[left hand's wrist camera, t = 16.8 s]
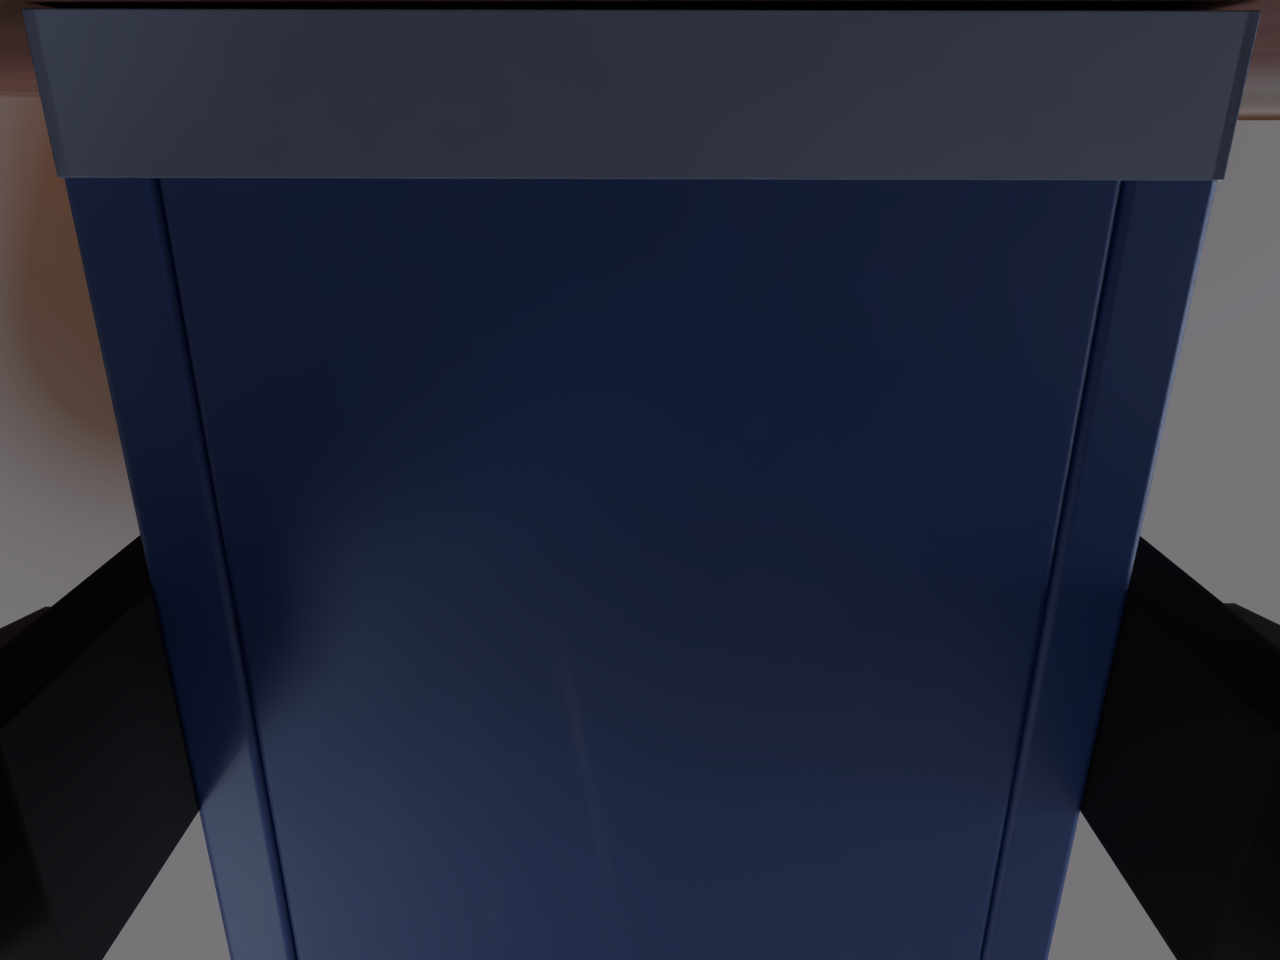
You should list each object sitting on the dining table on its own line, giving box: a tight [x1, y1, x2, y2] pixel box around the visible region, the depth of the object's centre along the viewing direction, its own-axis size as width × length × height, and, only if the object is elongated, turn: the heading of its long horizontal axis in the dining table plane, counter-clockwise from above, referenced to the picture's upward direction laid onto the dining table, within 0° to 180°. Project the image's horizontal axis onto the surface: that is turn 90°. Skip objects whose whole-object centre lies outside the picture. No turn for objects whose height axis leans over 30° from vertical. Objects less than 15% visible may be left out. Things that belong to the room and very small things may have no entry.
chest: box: [22, 8, 1261, 960], centre depth 16 cm, size 15×10×10 cm, turn 0°
